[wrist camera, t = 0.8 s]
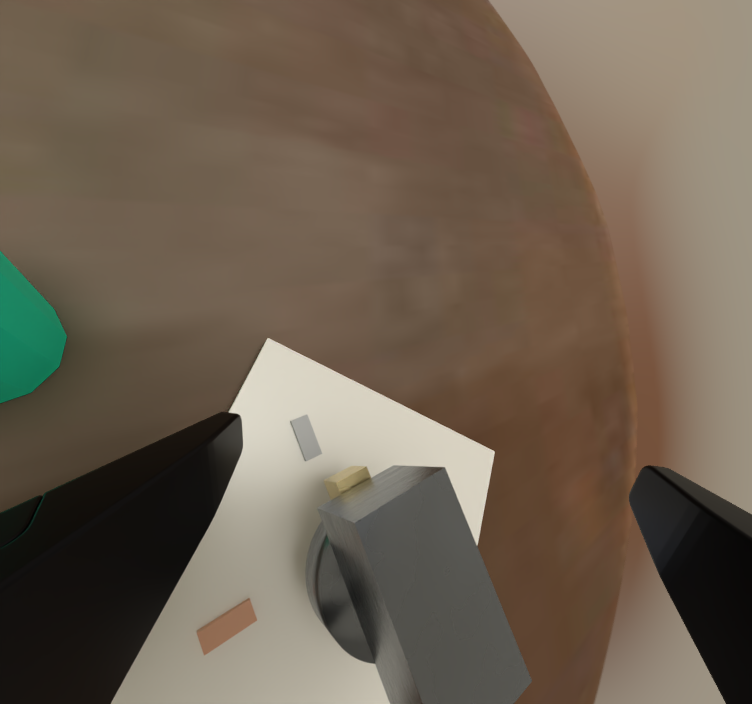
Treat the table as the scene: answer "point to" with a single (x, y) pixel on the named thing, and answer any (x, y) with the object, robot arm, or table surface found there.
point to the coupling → (411, 589)
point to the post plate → (286, 543)
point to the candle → (25, 335)
